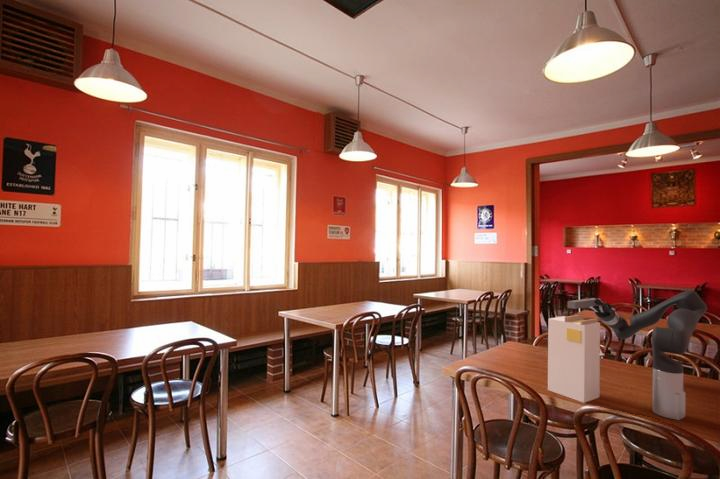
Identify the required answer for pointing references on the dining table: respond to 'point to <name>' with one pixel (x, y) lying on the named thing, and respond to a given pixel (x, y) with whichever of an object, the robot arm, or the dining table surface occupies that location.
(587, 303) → the dark gray bar
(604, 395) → the dining table surface
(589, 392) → the cream carton
